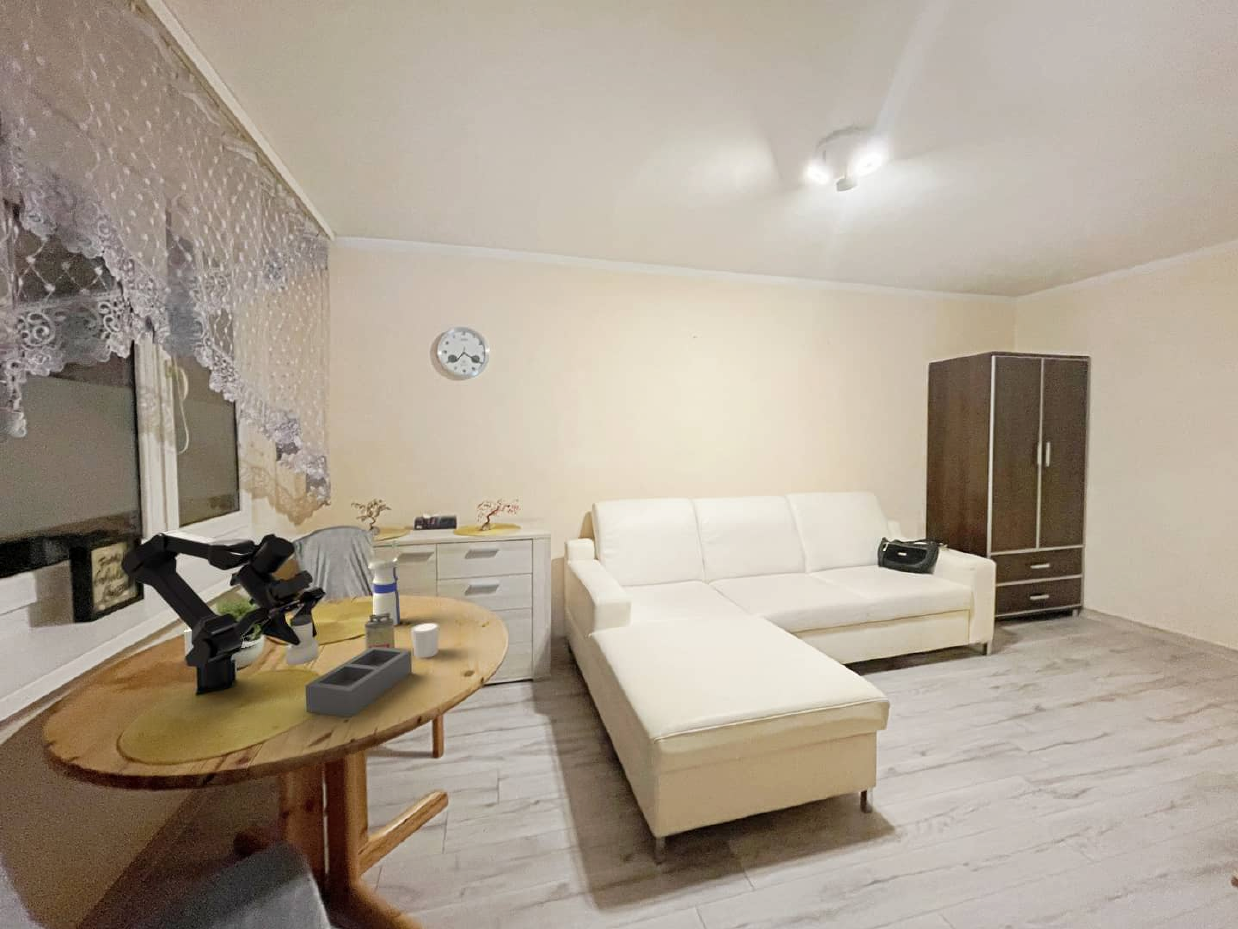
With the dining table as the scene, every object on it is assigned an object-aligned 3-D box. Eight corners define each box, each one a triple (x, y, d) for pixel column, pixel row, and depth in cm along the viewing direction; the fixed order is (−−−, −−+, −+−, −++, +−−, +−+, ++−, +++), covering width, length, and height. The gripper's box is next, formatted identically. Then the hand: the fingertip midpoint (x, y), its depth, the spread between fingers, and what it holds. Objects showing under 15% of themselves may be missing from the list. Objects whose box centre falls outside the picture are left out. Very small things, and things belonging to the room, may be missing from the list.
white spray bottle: (376, 619, 156) (373, 539, 154) (405, 617, 157) (402, 538, 155) (366, 629, 147) (363, 545, 146) (396, 627, 148) (393, 544, 147)
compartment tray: (350, 717, 101) (349, 691, 100) (306, 711, 103) (305, 685, 103) (411, 672, 120) (411, 650, 119) (373, 668, 122) (372, 646, 122)
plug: (285, 667, 105) (283, 625, 104) (286, 656, 110) (285, 616, 109) (318, 660, 108) (317, 619, 107) (318, 650, 113) (317, 611, 112)
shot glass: (433, 645, 135) (432, 620, 135) (444, 653, 131) (444, 627, 130) (407, 653, 131) (406, 627, 130) (418, 661, 126) (417, 634, 125)
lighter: (364, 656, 129) (363, 618, 128) (365, 650, 133) (364, 613, 132) (394, 651, 132) (393, 614, 131) (395, 646, 135) (394, 609, 135)
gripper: (243, 574, 99) (292, 633, 98) (318, 552, 118) (360, 602, 116) (212, 610, 101) (260, 668, 100) (291, 583, 120) (332, 632, 118)
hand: (307, 640), depth 108 cm, fingers closed on plug, 4 cm apart
